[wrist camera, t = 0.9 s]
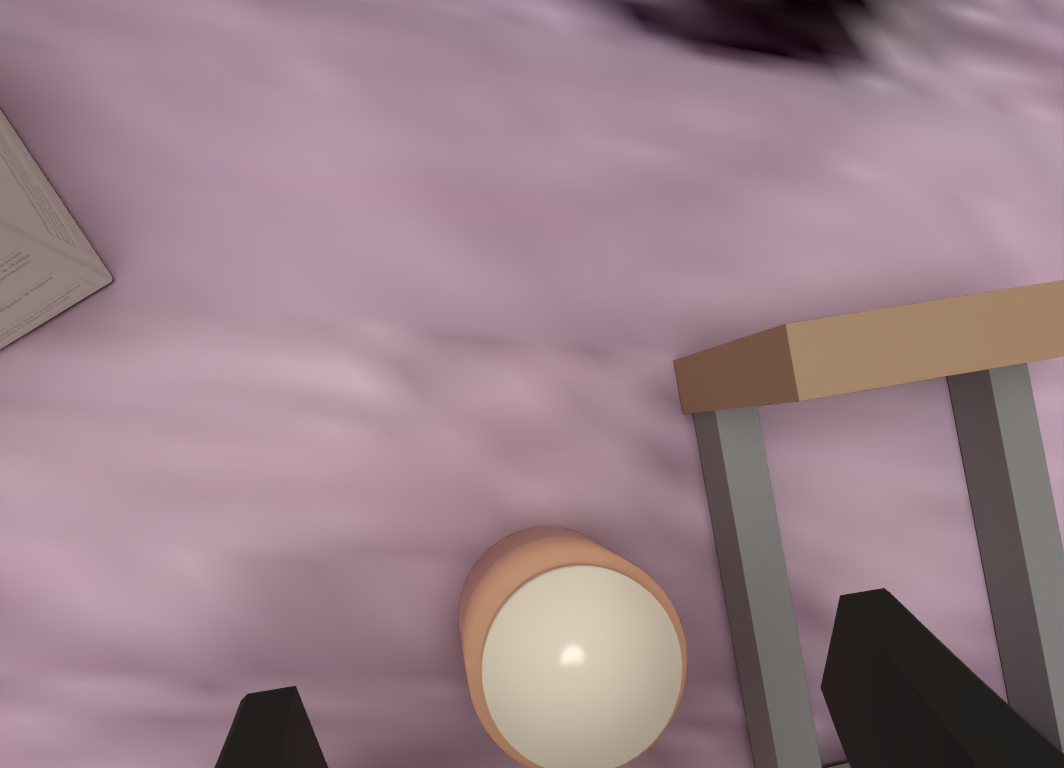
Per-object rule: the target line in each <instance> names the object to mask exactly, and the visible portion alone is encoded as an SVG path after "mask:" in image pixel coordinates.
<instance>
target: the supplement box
mask: <svg viewBox="0 0 1064 768" xmlns="http://www.w3.org/2000/svg"><path fill="white" fill-rule="evenodd" d="M111 281H112V276H111V275H110V273H109V272H108V270H107V269H106V267H105V266H104V264H103V263H102V261H101V260H100V258H99V257H98V255H97V254H96V252H95V251H94V249H93V248H92V246H91V244H90V243H89V241H88V240H87V239H86V237H85V236H84V234H83V233H82V231H81V230H80V228H79V227H78V225H77V224H76V222H75V221H74V219H73V218H72V216H71V215H70V214H69V212H68V211H67V209H66V207H65V206H64V204H63V202H62V201H61V199H60V198H59V196H58V195H57V194H56V192H55V191H54V189H53V188H52V186H51V185H50V184H49V182H48V181H47V179H46V178H45V176H44V175H43V173H42V171H41V170H40V168H39V167H38V165H37V164H36V162H35V161H34V160H33V158H32V157H31V155H30V153H29V152H28V150H27V149H26V147H25V146H24V144H23V143H22V141H21V140H20V138H19V137H18V135H17V134H16V132H15V131H14V129H13V128H12V126H11V125H10V123H9V122H8V120H7V119H6V117H5V116H4V114H3V113H2V111H1V110H0V349H1V348H3V347H5V346H6V345H8V344H10V343H11V342H13V341H15V340H16V339H18V338H20V337H21V336H23V335H25V334H26V333H28V332H29V331H31V330H33V329H34V328H36V327H38V326H39V325H41V324H43V323H44V322H46V321H48V320H49V319H51V318H53V317H54V316H56V315H57V314H59V313H61V312H62V311H64V310H66V309H67V308H69V307H71V306H72V305H74V304H75V303H77V302H79V301H80V300H82V299H84V298H85V297H87V296H89V295H90V294H92V293H94V292H95V291H97V290H98V289H100V288H102V287H104V286H105V285H107V284H109V283H110V282H111Z"/></svg>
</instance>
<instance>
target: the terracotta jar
mask: <svg viewBox="0 0 1064 768" xmlns="http://www.w3.org/2000/svg"><path fill="white" fill-rule="evenodd" d="M458 624H459V633H460V639H461V645H462V651H463V657H464V663H465V668H466V674H467V680H468V686H469V690H470V695H471V699H472V702H473V705H474V708H475V710H476V713H477V715H478V717H479V719H480V721H481V723H482V725H483V727H484V728H485V730H486V731H487V732H488V734H489V735H490V736H491V738H492V739H493V740H494V741H495V742H496V744H497V745H498V746H499V747H500V748H501V749H502V750H503V751H504V752H506V753H507V754H508V755H510V756H511V757H512V758H513V759H515V760H516V761H518V762H520V763H521V764H523V765H525V766H526V767H529V768H620V767H622V766H624V765H626V764H628V763H629V762H631V761H633V760H634V759H636V758H638V757H639V756H640V755H641V754H643V753H644V752H645V751H646V750H647V749H649V748H650V747H651V746H652V745H653V744H654V743H655V741H656V740H657V739H658V738H659V737H660V736H661V735H662V733H663V732H664V730H665V729H666V728H667V726H668V725H669V723H670V721H671V720H672V718H673V716H674V714H675V712H676V710H677V707H678V705H679V703H680V700H681V697H682V693H683V690H684V686H685V680H686V673H687V649H686V641H685V636H684V632H683V628H682V625H681V622H680V620H679V617H678V614H677V612H676V610H675V608H674V606H673V605H672V603H671V601H670V599H669V598H668V597H667V595H666V594H665V592H664V591H663V590H662V588H661V587H660V586H659V585H658V584H657V583H656V582H655V581H654V580H653V579H652V578H651V577H650V576H649V575H647V574H646V573H645V572H644V571H643V570H641V569H640V568H638V567H636V566H635V565H633V564H632V563H630V562H628V561H627V560H625V559H623V558H622V557H620V556H618V555H617V554H615V553H613V552H611V551H610V550H608V549H606V548H605V547H603V546H601V545H600V544H598V543H596V542H595V541H593V540H591V539H590V538H588V537H586V536H584V535H582V534H580V533H577V532H575V531H572V530H568V529H565V528H558V527H535V528H529V529H525V530H521V531H518V532H516V533H513V534H511V535H509V536H507V537H505V538H503V539H501V540H500V541H498V542H497V543H496V544H494V545H493V546H492V547H490V548H489V549H488V550H487V551H486V552H485V553H484V554H483V555H482V556H481V557H480V559H479V560H478V561H477V562H476V564H475V565H474V567H473V568H472V570H471V572H470V573H469V575H468V577H467V579H466V582H465V584H464V586H463V590H462V593H461V596H460V602H459V610H458Z"/></svg>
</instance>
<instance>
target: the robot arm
mask: <svg viewBox="0 0 1064 768" xmlns="http://www.w3.org/2000/svg"><path fill="white" fill-rule="evenodd" d="M821 690H822V692H823V695H824V698H825V701H826V704H827V706H828V709H829V712H830V715H831V718H832V720H833V723H834V726H835V729H836V731H837V734H838V736H839V739H840V742H841V744H842V747H843V749H844V752H845V755H846V757H847V760H848V762H849V765H850V767H851V768H1064V753H1063V752H1062V751H1061V750H1060V749H1058V748H1057V747H1056V746H1055V745H1054V744H1053V743H1051V742H1050V741H1049V740H1048V739H1047V738H1046V737H1044V736H1043V735H1042V734H1041V733H1040V732H1039V731H1038V730H1037V729H1035V728H1034V727H1033V726H1032V725H1031V724H1030V723H1029V722H1028V721H1026V720H1025V719H1024V718H1023V717H1022V716H1021V715H1020V714H1019V713H1017V712H1016V711H1015V710H1014V709H1013V708H1012V707H1011V706H1010V705H1008V704H1007V703H1006V702H1005V701H1004V700H1003V699H1002V698H1000V697H999V696H998V695H997V694H996V693H995V692H994V691H993V690H992V689H991V688H990V687H988V686H987V685H986V684H985V683H984V682H983V681H982V680H981V679H980V678H979V677H978V676H977V675H976V674H974V673H973V672H972V671H971V670H970V669H969V668H968V667H967V666H966V665H965V664H964V663H963V662H962V661H961V660H960V659H958V658H957V657H956V656H955V655H954V654H953V653H952V652H951V651H950V650H949V649H948V648H947V647H946V646H945V645H944V644H943V643H942V642H941V641H940V640H939V639H937V638H936V637H935V636H934V635H933V634H932V633H931V632H930V631H929V630H928V629H927V628H926V627H925V626H924V625H923V624H922V623H921V622H920V621H919V620H918V619H917V618H916V617H915V616H914V615H913V614H912V613H911V612H910V611H908V610H907V609H906V608H905V607H904V606H903V605H902V604H901V603H900V602H899V601H898V600H897V599H896V598H895V597H894V596H893V595H892V594H891V593H890V592H888V591H887V590H886V589H885V588H882V589H876V590H870V591H864V592H858V593H852V594H846V595H840V599H839V603H838V608H837V613H836V618H835V622H834V627H833V632H832V637H831V641H830V646H829V651H828V655H827V660H826V665H825V670H824V674H823V679H822V684H821ZM215 768H328V766H327V763H326V761H325V758H324V756H323V753H322V751H321V748H320V746H319V743H318V741H317V738H316V736H315V733H314V731H313V728H312V726H311V723H310V721H309V718H308V716H307V713H306V711H305V708H304V705H303V703H302V700H301V698H300V695H299V693H298V690H297V688H296V686H292V687H286V688H280V689H274V690H268V691H262V692H256V693H250V694H247V695H246V696H245V697H244V698H243V699H242V700H241V702H240V705H239V707H238V710H237V713H236V715H235V718H234V721H233V723H232V726H231V728H230V731H229V733H228V736H227V738H226V741H225V743H224V746H223V748H222V751H221V753H220V756H219V758H218V761H217V763H216V765H215Z"/></svg>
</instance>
